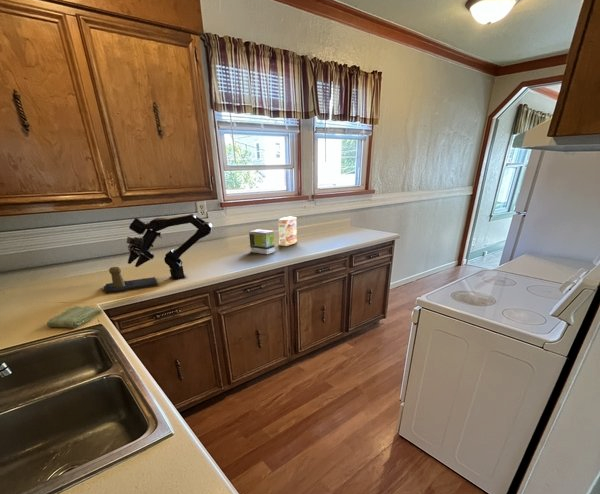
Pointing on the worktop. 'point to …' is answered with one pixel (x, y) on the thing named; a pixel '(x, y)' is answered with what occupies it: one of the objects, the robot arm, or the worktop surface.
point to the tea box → (262, 241)
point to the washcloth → (73, 317)
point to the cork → (116, 277)
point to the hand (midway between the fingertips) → (132, 265)
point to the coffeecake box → (287, 231)
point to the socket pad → (131, 285)
